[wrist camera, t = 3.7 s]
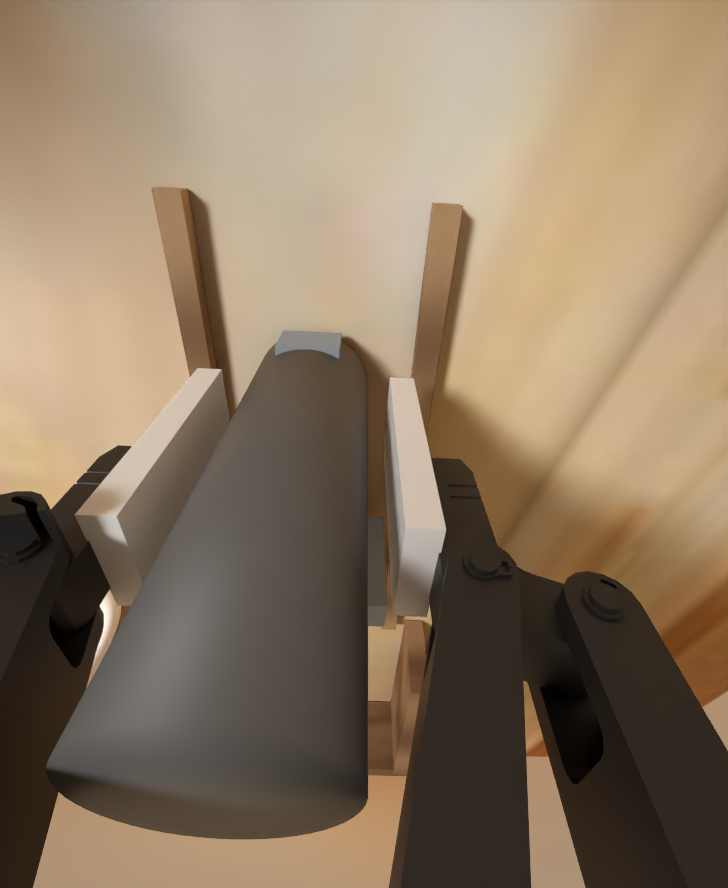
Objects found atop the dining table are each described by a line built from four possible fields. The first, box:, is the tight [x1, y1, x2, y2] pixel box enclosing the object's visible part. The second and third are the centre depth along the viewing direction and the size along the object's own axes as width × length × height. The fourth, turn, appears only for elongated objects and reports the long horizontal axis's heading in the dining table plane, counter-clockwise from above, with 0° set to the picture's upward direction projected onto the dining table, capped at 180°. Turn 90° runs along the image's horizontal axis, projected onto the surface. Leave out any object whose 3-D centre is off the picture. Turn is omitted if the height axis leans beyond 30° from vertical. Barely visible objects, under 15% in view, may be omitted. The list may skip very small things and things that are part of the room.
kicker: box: [46, 331, 387, 839], centre depth 12 cm, size 9×6×12 cm, turn 177°
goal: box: [368, 620, 426, 776], centre depth 25 cm, size 11×12×4 cm
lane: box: [152, 187, 463, 630], centre depth 18 cm, size 21×9×1 cm, turn 177°
